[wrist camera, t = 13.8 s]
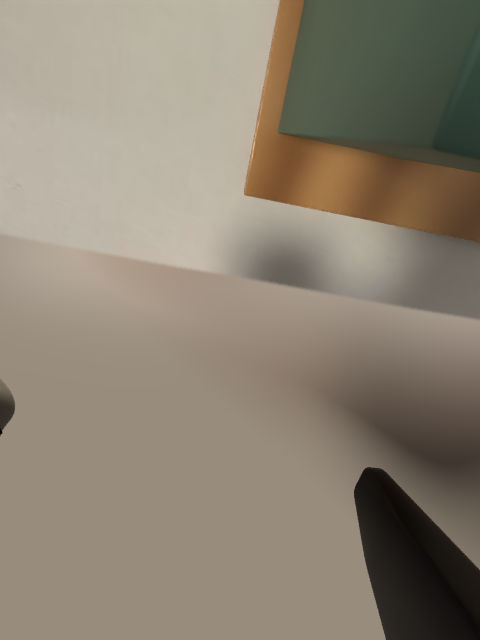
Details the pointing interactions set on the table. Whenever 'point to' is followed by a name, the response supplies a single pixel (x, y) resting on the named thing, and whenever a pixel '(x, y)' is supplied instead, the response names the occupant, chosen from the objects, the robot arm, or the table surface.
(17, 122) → the table surface
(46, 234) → the table surface
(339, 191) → the wooden board
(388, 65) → the clock
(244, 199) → the table surface
